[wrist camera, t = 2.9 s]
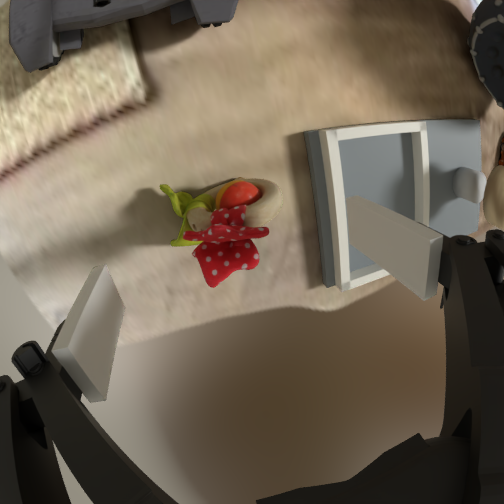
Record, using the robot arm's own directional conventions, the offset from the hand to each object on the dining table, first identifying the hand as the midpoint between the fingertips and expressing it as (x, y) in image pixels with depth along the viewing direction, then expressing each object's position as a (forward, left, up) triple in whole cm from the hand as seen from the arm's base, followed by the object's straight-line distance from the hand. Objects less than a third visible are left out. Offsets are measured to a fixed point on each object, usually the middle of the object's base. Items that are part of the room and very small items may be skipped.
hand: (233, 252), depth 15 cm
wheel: (+4, +30, -5) cm, 31 cm away
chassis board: (+4, +22, -12) cm, 25 cm away
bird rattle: (0, 0, -12) cm, 12 cm away
